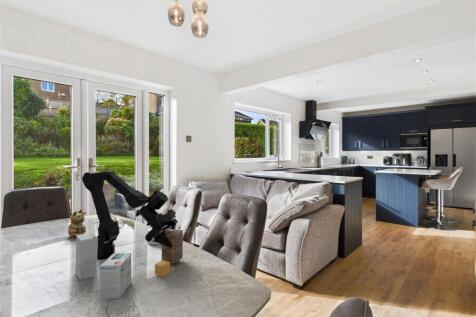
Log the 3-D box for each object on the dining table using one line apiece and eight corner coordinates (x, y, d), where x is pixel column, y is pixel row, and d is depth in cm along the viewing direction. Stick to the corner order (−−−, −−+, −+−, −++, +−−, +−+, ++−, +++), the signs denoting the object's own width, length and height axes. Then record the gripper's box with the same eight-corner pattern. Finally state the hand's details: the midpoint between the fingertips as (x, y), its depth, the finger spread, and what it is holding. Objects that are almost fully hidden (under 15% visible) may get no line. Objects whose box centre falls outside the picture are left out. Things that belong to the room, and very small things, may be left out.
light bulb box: (112, 283, 91) (112, 252, 91) (132, 282, 92) (131, 252, 92) (98, 299, 81) (98, 265, 81) (120, 298, 81) (120, 264, 81)
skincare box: (74, 273, 99) (74, 235, 99) (92, 268, 103) (92, 231, 103) (80, 280, 93) (80, 239, 93) (98, 275, 97) (98, 236, 97)
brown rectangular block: (161, 261, 106) (161, 233, 107) (169, 256, 113) (169, 228, 113) (175, 263, 105) (175, 234, 105) (182, 257, 111) (182, 229, 111)
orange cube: (154, 274, 98) (154, 263, 98) (162, 270, 102) (162, 260, 102) (162, 276, 96) (162, 266, 96) (170, 272, 100) (170, 262, 100)
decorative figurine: (77, 238, 142) (77, 211, 142) (63, 238, 143) (63, 211, 143) (88, 233, 152) (88, 208, 152) (74, 233, 152) (74, 208, 152)
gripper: (152, 208, 101) (177, 238, 98) (174, 200, 119) (196, 226, 116) (134, 227, 102) (159, 257, 100) (158, 216, 121) (180, 242, 118)
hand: (175, 244), depth 109 cm, fingers closed on brown rectangular block, 6 cm apart
